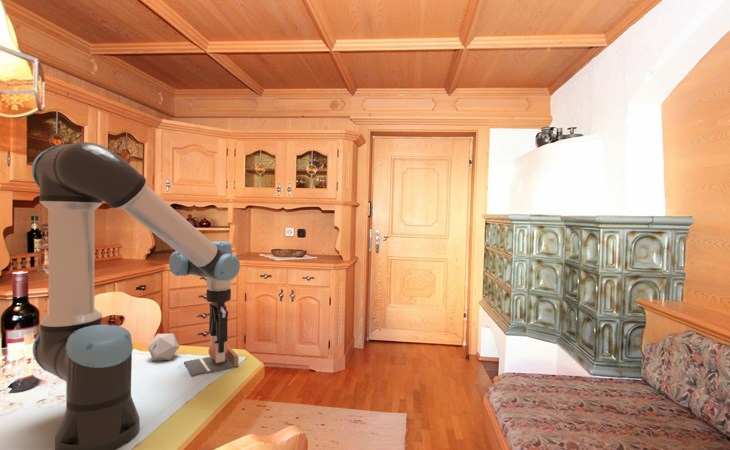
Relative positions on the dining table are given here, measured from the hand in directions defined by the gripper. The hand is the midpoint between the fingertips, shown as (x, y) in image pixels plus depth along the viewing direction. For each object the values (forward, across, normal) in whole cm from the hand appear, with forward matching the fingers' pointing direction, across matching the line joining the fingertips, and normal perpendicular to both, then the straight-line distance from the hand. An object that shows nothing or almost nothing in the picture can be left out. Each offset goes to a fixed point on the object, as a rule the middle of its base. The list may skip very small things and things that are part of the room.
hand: (217, 358), depth 124 cm
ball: (0, 0, 0) cm, 0 cm away
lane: (+2, 0, +2) cm, 3 cm away
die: (+2, +14, +14) cm, 20 cm away
